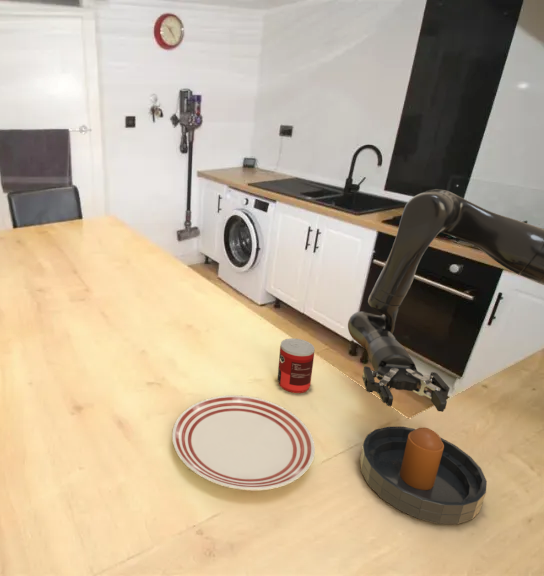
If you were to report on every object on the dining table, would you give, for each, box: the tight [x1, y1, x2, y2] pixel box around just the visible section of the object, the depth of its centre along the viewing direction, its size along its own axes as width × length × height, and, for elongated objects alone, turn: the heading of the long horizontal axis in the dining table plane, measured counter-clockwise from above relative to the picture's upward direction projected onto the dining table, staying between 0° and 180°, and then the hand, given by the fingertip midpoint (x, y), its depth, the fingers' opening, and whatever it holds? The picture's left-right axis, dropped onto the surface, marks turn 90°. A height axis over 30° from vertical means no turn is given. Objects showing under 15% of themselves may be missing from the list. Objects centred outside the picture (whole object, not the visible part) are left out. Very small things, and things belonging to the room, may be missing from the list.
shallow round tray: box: [359, 426, 488, 525], centre depth 72 cm, size 18×18×4 cm
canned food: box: [277, 337, 315, 394], centre depth 100 cm, size 8×8×11 cm
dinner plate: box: [171, 394, 316, 491], centre depth 81 cm, size 28×27×3 cm
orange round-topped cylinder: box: [400, 427, 444, 490], centre depth 71 cm, size 5×5×10 cm
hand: (416, 404), depth 75 cm, fingers open, 8 cm apart
